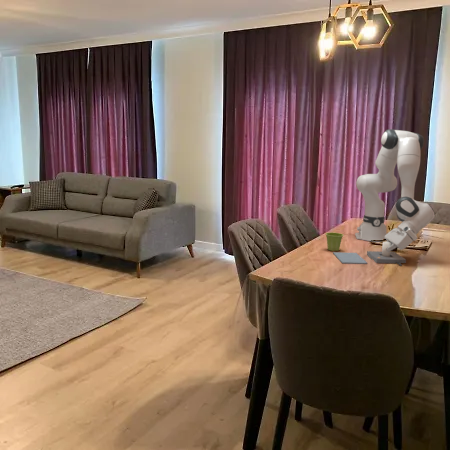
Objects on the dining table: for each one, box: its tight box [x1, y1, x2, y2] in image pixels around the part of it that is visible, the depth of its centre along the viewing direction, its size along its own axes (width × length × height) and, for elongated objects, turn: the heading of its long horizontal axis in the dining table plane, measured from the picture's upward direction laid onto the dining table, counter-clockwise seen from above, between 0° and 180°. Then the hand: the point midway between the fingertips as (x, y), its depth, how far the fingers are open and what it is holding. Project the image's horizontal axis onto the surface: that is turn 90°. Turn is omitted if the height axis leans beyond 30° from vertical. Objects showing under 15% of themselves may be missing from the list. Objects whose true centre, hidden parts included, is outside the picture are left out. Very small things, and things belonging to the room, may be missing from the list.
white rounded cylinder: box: [381, 241, 392, 257], centre depth 236 cm, size 5×5×8 cm
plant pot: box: [325, 231, 344, 252], centre depth 253 cm, size 9×9×9 cm
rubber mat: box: [332, 251, 368, 265], centre depth 236 cm, size 20×12×1 cm, turn 0°
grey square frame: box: [366, 250, 407, 267], centre depth 234 cm, size 21×14×2 cm, turn 0°
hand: (385, 249), depth 236 cm, fingers closed on white rounded cylinder, 4 cm apart
